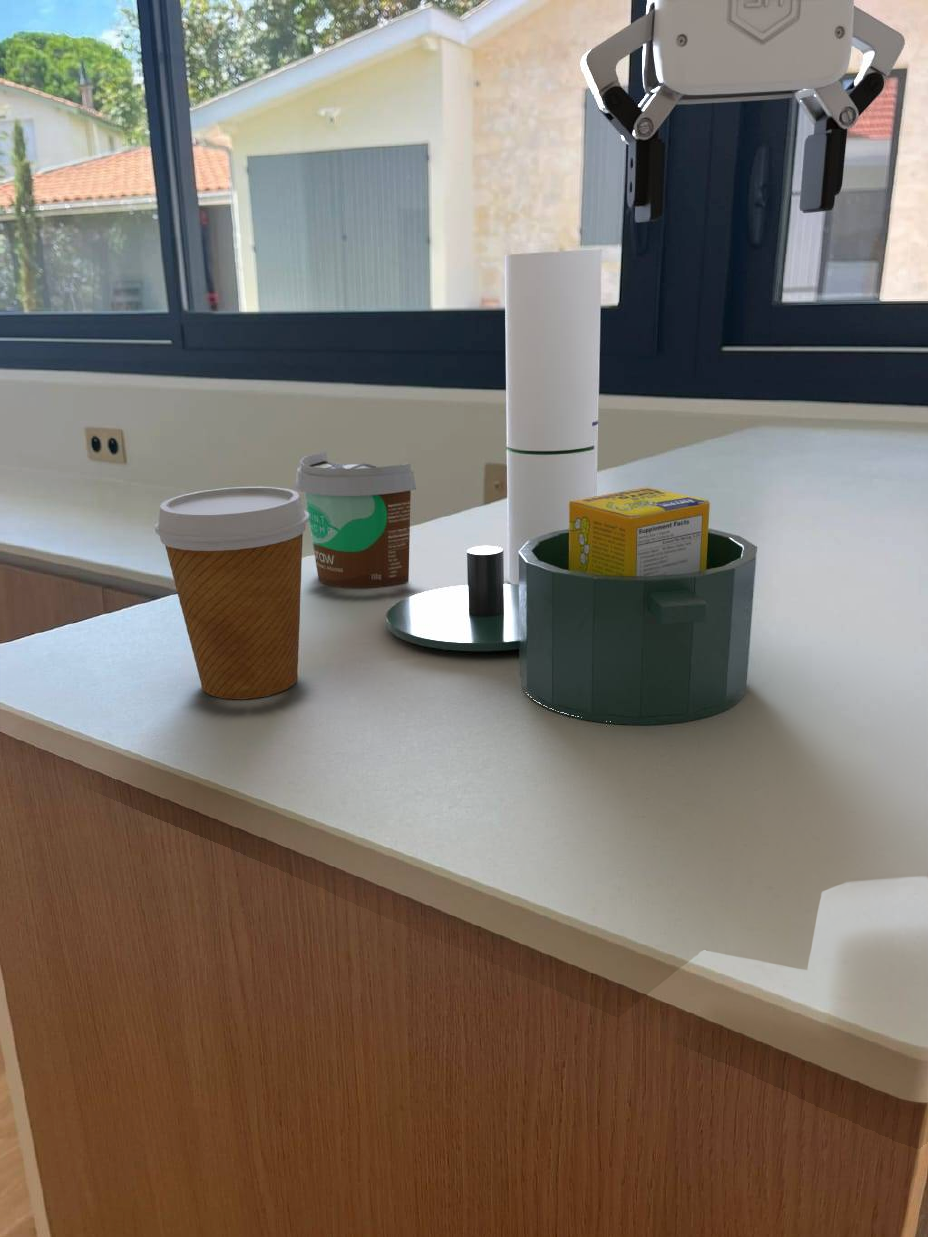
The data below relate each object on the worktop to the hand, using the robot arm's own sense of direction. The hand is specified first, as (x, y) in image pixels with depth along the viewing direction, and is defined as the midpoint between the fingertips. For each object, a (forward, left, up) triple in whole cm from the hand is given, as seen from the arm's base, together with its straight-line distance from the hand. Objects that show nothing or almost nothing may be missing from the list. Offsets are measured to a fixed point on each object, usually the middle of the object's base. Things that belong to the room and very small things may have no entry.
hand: (732, 216), depth 63 cm
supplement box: (+6, +4, -26) cm, 27 cm away
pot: (+6, +4, -26) cm, 27 cm away
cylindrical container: (+6, -21, -26) cm, 34 cm away
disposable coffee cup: (+30, -1, -26) cm, 40 cm away
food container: (+23, -25, -26) cm, 43 cm away
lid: (+13, -9, -26) cm, 30 cm away
